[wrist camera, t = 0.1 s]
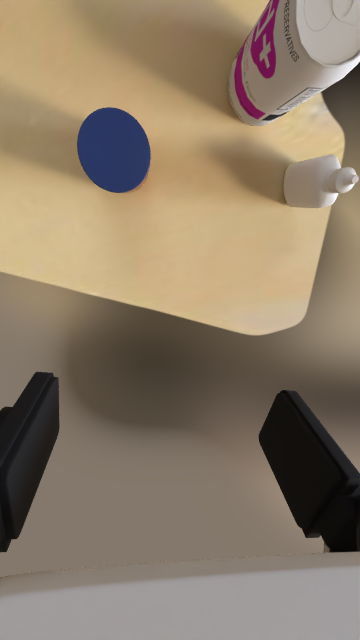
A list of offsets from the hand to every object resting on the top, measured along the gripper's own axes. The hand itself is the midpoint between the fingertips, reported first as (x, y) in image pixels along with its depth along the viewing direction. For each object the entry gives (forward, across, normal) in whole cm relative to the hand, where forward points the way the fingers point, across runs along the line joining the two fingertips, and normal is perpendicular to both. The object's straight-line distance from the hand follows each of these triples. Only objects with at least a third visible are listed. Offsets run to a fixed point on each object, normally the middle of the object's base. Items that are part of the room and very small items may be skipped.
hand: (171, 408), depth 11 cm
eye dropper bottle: (+31, -18, -14) cm, 39 cm away
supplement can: (+31, -10, -23) cm, 40 cm away
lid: (+21, +6, -11) cm, 24 cm away
